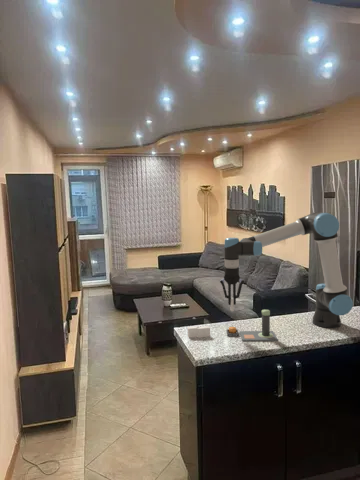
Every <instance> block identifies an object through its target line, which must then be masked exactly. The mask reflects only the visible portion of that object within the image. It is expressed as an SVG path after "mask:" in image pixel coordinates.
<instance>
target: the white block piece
mask: <svg viewBox="0 0 360 480" xmlns="http://www.w3.org/2000/svg"><path fill="white" fill-rule="evenodd" d="M187 337H188V339H189V338H208V337H209V338H210V337H211V327H210V325H208V326H187Z"/></svg>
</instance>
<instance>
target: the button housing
mask: <svg viewBox="0 0 360 480" xmlns="http://www.w3.org/2000/svg"><path fill="white" fill-rule="evenodd" d="M226 336H227V337H239V336H240V332H239V329H237V328H236V333H229V328H227V329H226Z"/></svg>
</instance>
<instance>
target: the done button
mask: <svg viewBox="0 0 360 480" xmlns="http://www.w3.org/2000/svg"><path fill="white" fill-rule="evenodd" d="M228 329H229V332H228V333H237V332H236V329H237V327H235V326H229V327H228Z"/></svg>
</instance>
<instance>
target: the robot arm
mask: <svg viewBox="0 0 360 480" xmlns="http://www.w3.org/2000/svg"><path fill="white" fill-rule="evenodd" d="M339 230H340V221H339V219H338V218H337V217H336V216H335V215H333V214H331V213H330V212H319V211H318V212H317V211H316V212H312V213H310V214H307V215H304V216H302V217H300V218H297V219H296V221H293V222H291V223H288V224H285V225H282V226H279V227H276V228H273V229H271V230H267V231H264V232H262V233H258V234H256V235H253V236H250V237H244V238H242V239H240V240H239V237H227V238H225V239H224V246H223V247H224V248H223V250H224V253H223V254H224V276H223V278H222V279H219V283H220V285H221V286H222V289H223V290H222V291H223V295H224V298H226V299H227V300H228V301H227V302H228V305H229V306H230V307H229V309H230V312H234V311H235V310H234V307H235V305H236V304H237V301H236V300H237V299H239V298H240V295H241V290H242V287H243V284H244V282H245V280H244V279H243V278H241V277H240V267H239V266H240V257H243V256H244V257H247V256H251V257H252V256H254V257H256V256H261V255H262V254H263V248H264V247H267V246H271V245H273V244H276V243H278V242H281V241H285V240H288V239H290V238H294V237H296V236H300V235H301V236H305V235H306V236H307V235H309V234H311V235H312V237H313V241H314V242H316V243H317V247H318V252H319V253H318V254H319V257H320V263H321V268H322V275H323V279H324V283H318V284H317V285H316V286H315V287H316V288H315V310H314V314H313V315H312V319H311V320H312V321H311V322H312V324H314V325H315V326H317V327H320V328H325V329H326V328H327V329H334V328H336V329H337V328H340V327H341V326H342V320H341V317H340V316H345V315H347V314H349V313H350V312H351V311H352V309H353V307H354V301H353V299H352V298H351V296H350V295H349V293H348V292H349V291H348V287H347V286H346V285H345V284H344V283H343V277H342V271H341V265H340V260H339V253H338V249H337V242H336V240H337V239H338V237H339V234H338V231H339ZM225 282H226V284H227V290H226V286H225ZM237 283H238V287H237V289H236V286H237ZM227 291H228V292H227ZM236 291H237V292H236Z"/></svg>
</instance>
